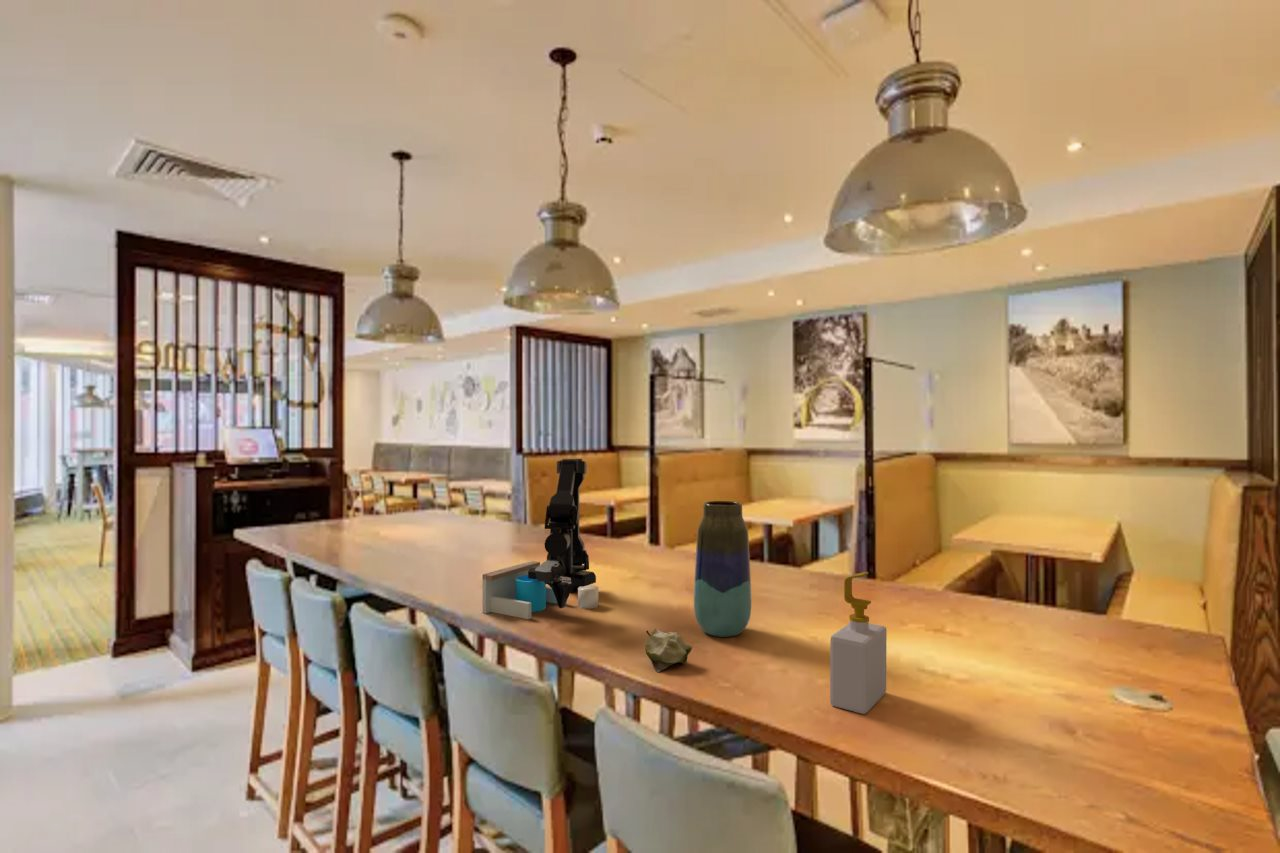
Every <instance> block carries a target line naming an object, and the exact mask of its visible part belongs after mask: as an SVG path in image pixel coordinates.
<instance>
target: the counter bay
mask: <svg viewBox="0 0 1280 853" xmlns="http://www.w3.org/2000/svg"><path fill="white" fill-rule="evenodd" d="M538 565H541V561H533V560H529V561H525V562H522V563H518V564H516V565H512V566H508V567H504V568H502V569H498V570H493V571H490V572H487V573H484V574H483V573H482V614H488V613H495V614H500V615H505V616H510V617H515V618H520V619H525V620H530V619H532V612H531V603H530V602H525V601H519V600H516V578H517V577H519V576H524V575H528V571H529V569H530V568H531V567H534V566H538ZM546 603H550V604H556V605H558V603H557V600H556V597H555V595H554V592H553V590H552V588H551V587H550V586H547V585H546ZM566 605H568V600H567V601H566V604H565V606H566Z"/></svg>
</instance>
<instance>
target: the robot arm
mask: <svg viewBox="0 0 1280 853" xmlns="http://www.w3.org/2000/svg"><path fill="white" fill-rule="evenodd" d="M587 467H588V466H587V462H586V461H584V460H583V458H562V459H560V460H558V461H556V474H558V480H557V488H556V493H554V494H553V495H552V496H551V497H550V499H549V504H548V505H547V506H546V509H545V510H546V511H545V518H544V519H545V520H544V530H550V531H549V534H548V536H547V537H546V539H545V540H544V549H545V551H546V552H547V554H546V560H545V561H543V562H542V563H540V565H538V566H534V567H531V568H530V569H529V571H528V578H530V579H537V580H538V581H539V582H540V581H544V582H545V584H546V585H548V587H551V588H552V590H553V592H554V595H555V597H556V600H557V603H558V604H557V606H558V608H559V609H564V608H565V606H566V605H567V604H566V601H567V602H568V599H569V596H570V594H571V593H578V587H584V586H587V585H592V584H596V583H597V576H596V573H595V572H594V571H590V557H589V554H588V552H587V550H586V549H585V546H586V545H585V542H584V541H583V539H582V538H581V535H580V487H581V485H582V484H583V483H584V480H585V476H586V475H587V471H588V470H587ZM588 570H589V571H588ZM565 604H566V605H565Z"/></svg>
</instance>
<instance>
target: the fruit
mask: <svg viewBox="0 0 1280 853" xmlns="http://www.w3.org/2000/svg"><path fill="white" fill-rule="evenodd" d="M646 634H647V635H648V636H649V638H648V639H647V640H646V642H645V655H646V656H647V657H648V659H649V660H650V662H651V664H652V666H653V669H654V670H655V672H657V673H660V672H661V671H663V670H665V669H667V668H669V667H670V666H673V665H674V664H677V663H681V664H685V663H687V661H688V656H689V654H690V653H691V651H692V649H693V646H692V645H690V644H688V643H686V642H685V640H684V639H683V638H682V636H681V635H679V633H678V632H675V631H674V632H673V631H668V632H663V631H661V630H659V629H656V628H654V629H653V631H652V632H651V633H649V631H648V630H646Z"/></svg>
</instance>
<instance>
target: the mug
mask: <svg viewBox="0 0 1280 853" xmlns="http://www.w3.org/2000/svg"><path fill="white" fill-rule="evenodd" d="M546 586H547V584H545V582H544V581H540V582H539V581H538V580H537V579H530V578H528V575H524V576H519V577H517V578H516V600H519V601H525V602H530V603H531V613H536V611H537V612H542V611H544V610H545V609H546V607H547V602H546Z"/></svg>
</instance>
